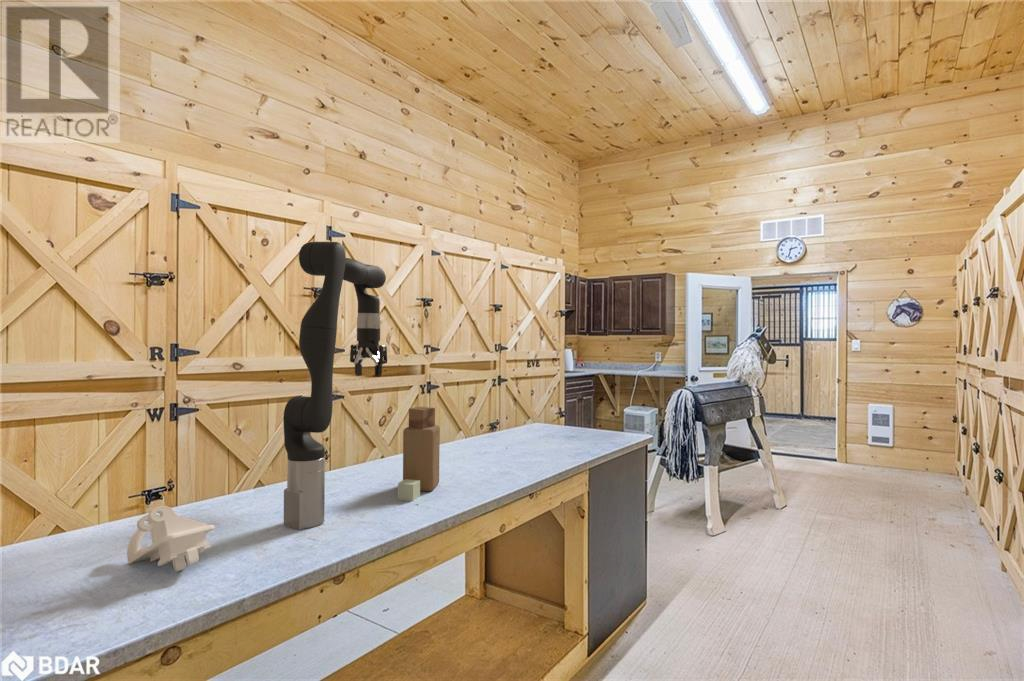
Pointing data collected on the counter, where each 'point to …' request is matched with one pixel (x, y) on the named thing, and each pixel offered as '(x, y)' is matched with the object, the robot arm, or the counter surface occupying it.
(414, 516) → the counter surface
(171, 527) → the beige angular piece
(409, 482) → the sage cube
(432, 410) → the walnut cube
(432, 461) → the wooden block
